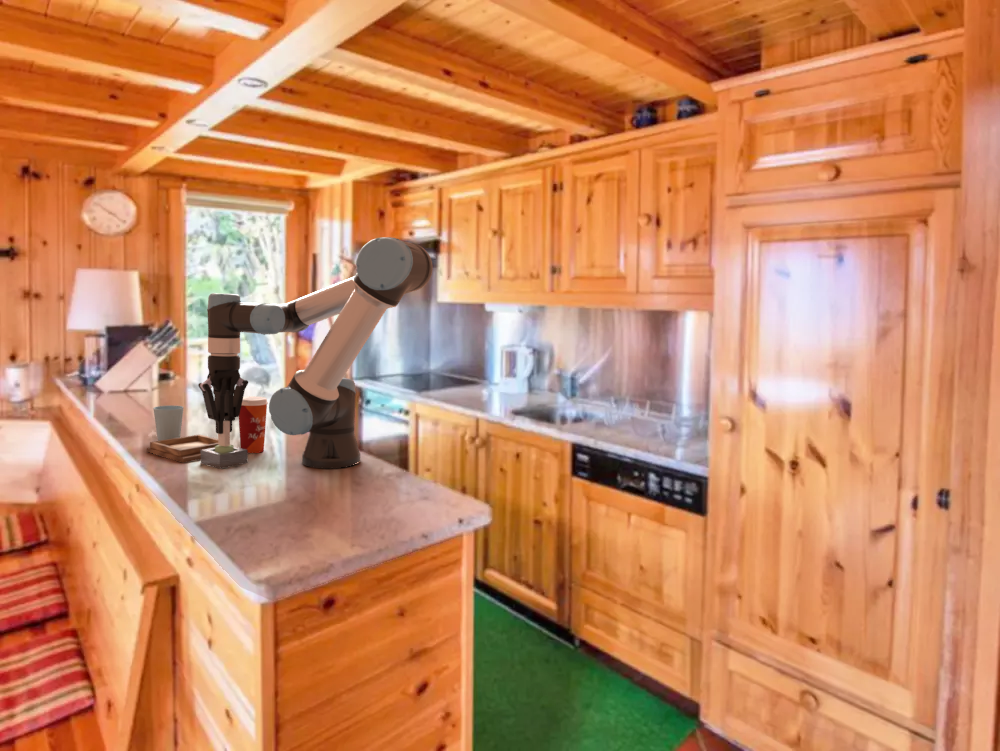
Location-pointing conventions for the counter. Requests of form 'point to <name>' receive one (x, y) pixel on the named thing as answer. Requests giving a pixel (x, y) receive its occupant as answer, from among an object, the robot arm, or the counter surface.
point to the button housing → (224, 457)
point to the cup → (168, 421)
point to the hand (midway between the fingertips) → (223, 445)
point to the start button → (224, 448)
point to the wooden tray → (183, 447)
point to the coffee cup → (253, 423)
